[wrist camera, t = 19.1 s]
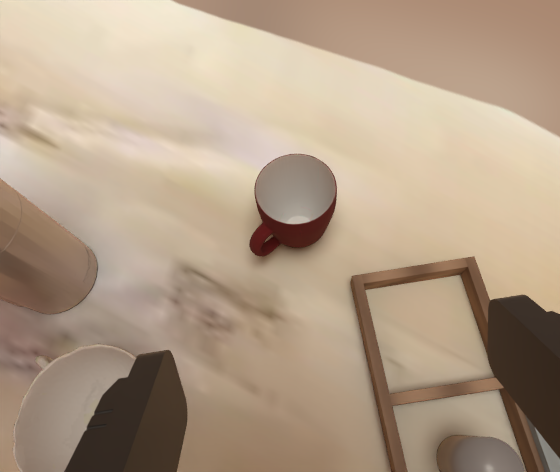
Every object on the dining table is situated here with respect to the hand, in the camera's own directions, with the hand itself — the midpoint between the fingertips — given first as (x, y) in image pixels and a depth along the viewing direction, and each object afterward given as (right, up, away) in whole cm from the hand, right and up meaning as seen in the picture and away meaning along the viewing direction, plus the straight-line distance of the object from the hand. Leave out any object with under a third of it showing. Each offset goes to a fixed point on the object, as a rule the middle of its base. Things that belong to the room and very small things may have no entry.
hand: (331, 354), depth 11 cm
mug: (0, +3, +39) cm, 40 cm away
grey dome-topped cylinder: (+16, -18, +29) cm, 37 cm away
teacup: (-18, -15, +33) cm, 41 cm away
